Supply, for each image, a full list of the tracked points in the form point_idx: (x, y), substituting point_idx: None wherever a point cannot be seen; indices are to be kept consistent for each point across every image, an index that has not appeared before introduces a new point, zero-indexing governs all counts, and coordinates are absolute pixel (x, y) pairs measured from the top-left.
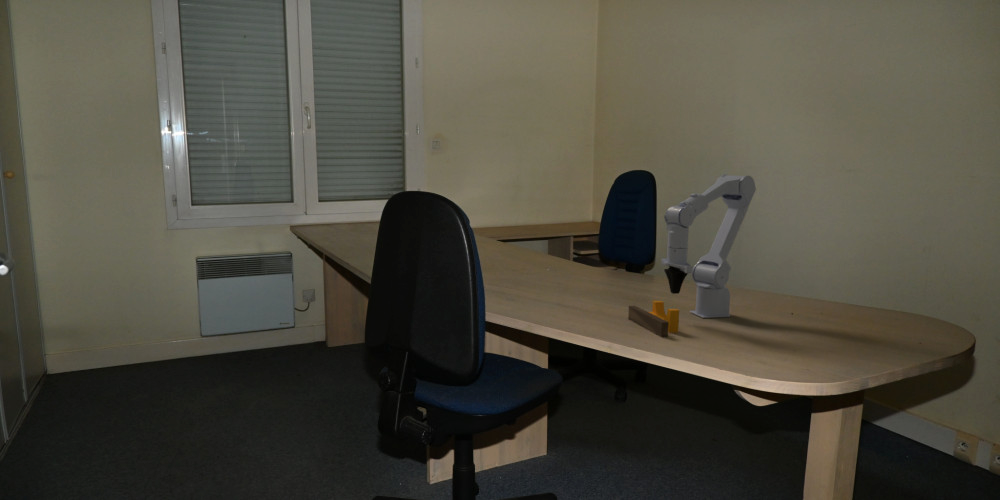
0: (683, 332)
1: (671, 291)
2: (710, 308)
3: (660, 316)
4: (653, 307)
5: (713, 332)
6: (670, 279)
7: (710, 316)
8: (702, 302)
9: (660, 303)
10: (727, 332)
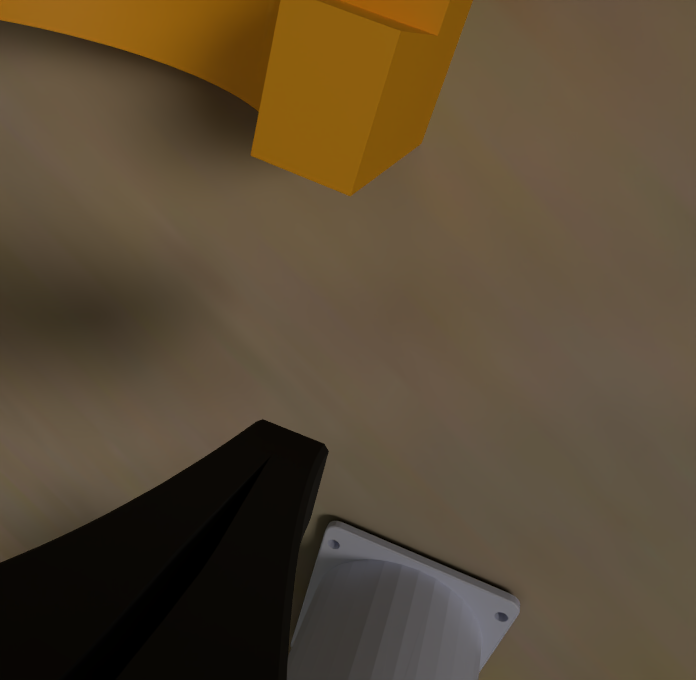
0: (43, 54)
1: (281, 442)
2: (309, 619)
3: (251, 10)
4: (383, 19)
5: (24, 274)
6: (169, 625)
7: (317, 561)
8: (344, 648)
9: (268, 92)
10: (17, 348)
